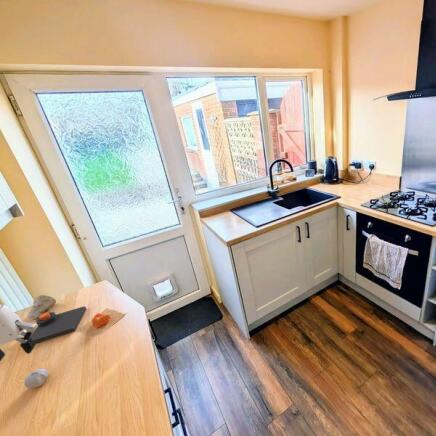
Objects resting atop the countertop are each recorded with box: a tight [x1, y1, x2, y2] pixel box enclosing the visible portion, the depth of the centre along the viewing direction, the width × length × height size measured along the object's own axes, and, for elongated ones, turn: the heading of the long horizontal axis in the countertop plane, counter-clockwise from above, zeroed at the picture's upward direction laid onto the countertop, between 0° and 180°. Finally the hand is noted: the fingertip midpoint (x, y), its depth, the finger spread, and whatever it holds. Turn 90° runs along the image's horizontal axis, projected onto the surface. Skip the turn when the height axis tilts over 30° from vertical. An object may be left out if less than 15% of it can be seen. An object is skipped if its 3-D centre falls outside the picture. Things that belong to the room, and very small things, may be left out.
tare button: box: [38, 311, 50, 321], centre depth 101 cm, size 3×3×2 cm
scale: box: [30, 306, 87, 345], centre depth 100 cm, size 15×14×4 cm
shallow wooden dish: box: [77, 307, 126, 337], centre depth 99 cm, size 12×12×4 cm
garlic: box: [23, 367, 50, 389], centre depth 78 cm, size 6×5×5 cm
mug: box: [26, 294, 57, 320], centre depth 109 cm, size 8×10×10 cm
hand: (16, 354), depth 73 cm, fingers open, 6 cm apart
